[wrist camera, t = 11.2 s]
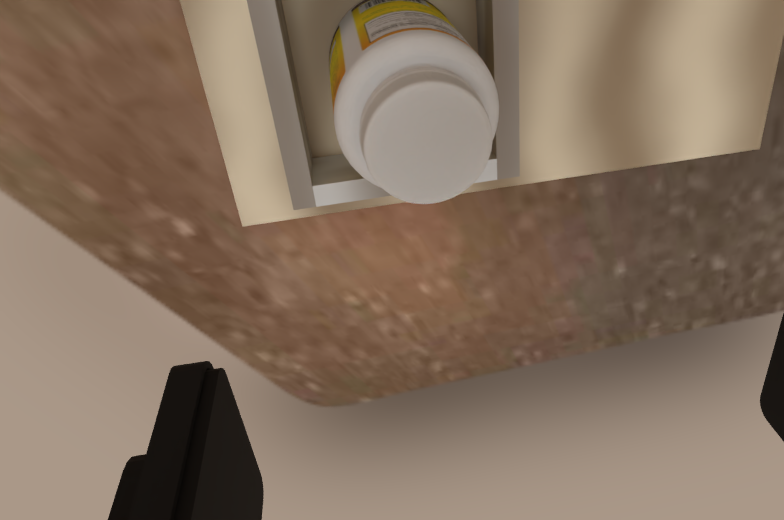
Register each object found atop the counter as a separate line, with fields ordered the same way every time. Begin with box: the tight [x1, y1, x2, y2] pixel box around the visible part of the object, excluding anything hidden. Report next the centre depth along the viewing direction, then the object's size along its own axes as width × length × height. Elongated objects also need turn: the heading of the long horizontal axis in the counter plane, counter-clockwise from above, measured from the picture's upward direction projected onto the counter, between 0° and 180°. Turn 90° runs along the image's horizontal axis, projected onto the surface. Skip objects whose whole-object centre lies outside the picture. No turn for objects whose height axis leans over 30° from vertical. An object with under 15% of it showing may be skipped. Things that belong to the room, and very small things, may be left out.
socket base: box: [180, 0, 784, 226], centre depth 27 cm, size 26×14×4 cm, turn 96°
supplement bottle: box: [329, 0, 499, 204], centre depth 24 cm, size 6×6×10 cm
